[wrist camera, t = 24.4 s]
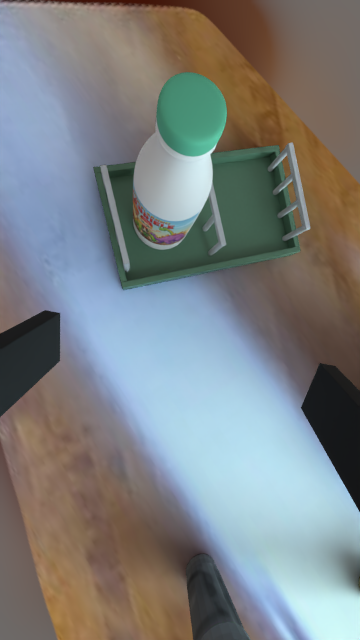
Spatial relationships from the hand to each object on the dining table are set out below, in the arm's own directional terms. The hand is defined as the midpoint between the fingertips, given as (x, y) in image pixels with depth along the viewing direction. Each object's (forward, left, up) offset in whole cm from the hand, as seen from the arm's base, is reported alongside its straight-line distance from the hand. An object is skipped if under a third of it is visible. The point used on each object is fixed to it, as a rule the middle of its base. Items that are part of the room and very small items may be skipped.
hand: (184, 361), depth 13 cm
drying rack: (-11, -15, -24) cm, 30 cm away
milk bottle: (-5, -15, -23) cm, 28 cm away
